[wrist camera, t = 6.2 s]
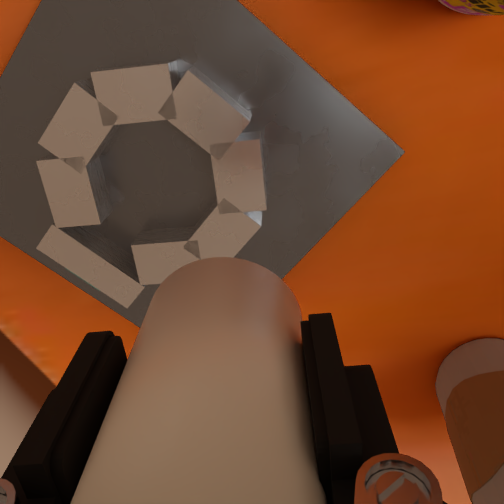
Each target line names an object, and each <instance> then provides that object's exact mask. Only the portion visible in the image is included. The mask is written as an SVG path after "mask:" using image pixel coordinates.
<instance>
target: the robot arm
mask: <svg viewBox="0 0 504 504" xmlns="http://www.w3.org/2000/svg"><path fill="white" fill-rule="evenodd" d="M300 323H301V336H302V347H303V355H304V363H305V371H306V379H307V387H308V395H309V403H310V411H311V419H312V427H313V435H314V443H315V451H316V459H317V467H318V475H319V481H320V483H321V484H322V487H323V489H324V492H325V495H326V500H327V504H447V503H445V502H444V501H442V492H441V489H440V485H439V482H438V480H437V478H436V477H435V475H434V474H433V473H432V471H431V470H430V469H429V468H428V467H426V466H425V465H424V464H423V463H422V462H420V461H418V460H416V459H414V458H412V457H410V456H407V455H402V454H399V452H398V448H397V445H396V442H395V439H394V436H393V433H392V430H391V426H390V423H389V420H388V417H387V414H386V411H385V408H384V405H383V401H382V398H381V395H380V392H379V389H378V386H377V383H376V380H375V376H374V373H373V370H372V368H371V366H370V365H357V366H344V365H343V361H342V356H341V352H340V348H339V344H338V340H337V335H336V331H335V327H334V323H333V319H332V315H331V313H322V314H310V315H309V321H300ZM126 363H127V357H126V353H125V349H124V346H123V342H122V339H121V337H120V336H114V334H113V332H112V331H102V332H90V333H87V334H86V336H85V337H84V339H83V341H82V343H81V344H80V346H79V348H78V350H77V352H76V353H75V355H74V357H73V359H72V360H71V362H70V364H69V366H68V367H67V369H66V371H65V373H64V375H63V376H62V378H61V380H60V382H59V383H58V385H57V387H56V388H55V389H54V390H52V391H51V393H50V394H49V395H48V397H47V399H46V401H45V402H44V404H43V406H42V408H41V409H40V411H39V413H38V415H37V416H36V418H35V420H34V422H33V424H32V425H31V427H30V428H29V430H28V432H27V434H26V435H25V438H24V439H23V441H22V442H21V444H20V446H19V448H18V449H17V451H16V453H15V455H14V457H13V458H12V460H11V462H10V463H9V465H8V467H7V469H6V470H5V472H4V474H3V476H2V477H1V478H0V504H70V503H71V501H72V498H73V496H74V493H75V491H76V488H77V486H78V483H79V481H80V478H81V476H82V473H83V471H84V468H85V466H86V463H87V461H88V458H89V456H90V453H91V451H92V448H93V446H94V443H95V441H96V438H97V436H98V433H99V431H100V428H101V426H102V423H103V420H104V418H105V415H106V413H107V410H108V408H109V405H110V403H111V400H112V398H113V395H114V393H115V390H116V388H117V385H118V383H119V380H120V378H121V375H122V373H123V370H124V368H125V365H126Z"/></svg>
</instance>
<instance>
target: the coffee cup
mask: <svg viewBox="0 0 504 504" xmlns="http://www.w3.org/2000/svg"><path fill="white" fill-rule="evenodd" d="M435 386H436V394H437V397H438V400H439V403H440V406H441V409H442V412H443V415H444V418H445V421H446V426H447V431H448V434H449V437H450V440H451V443H452V446H453V449H454V452H455V455H456V458H457V461H458V464H459V467H460V470H461V473H462V476H463V479H464V482H465V485H466V488H467V492H468V495H469V498H470V500H471V502H472V504H504V340H502V339H498V338H484V339H478V340H473V341H470V342H468V343H465V344H463V345H461V346H459V347H458V348H456V349H455V350H453V351H452V352H451V353H450V354H449V355H448V356H447V357H446V358H445V359H444V360H443V362H442V364H441V366H440V367H439V371H438V375H437V379H436V383H435Z"/></svg>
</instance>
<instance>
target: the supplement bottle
mask: <svg viewBox="0 0 504 504" xmlns="http://www.w3.org/2000/svg"><path fill="white" fill-rule="evenodd" d="M438 1H439V2H440V3H442V4H443V5H445V6H446V7H448V8H450V9H452V10H454V11H457V12H460V13H464V14H471V15H504V0H438Z"/></svg>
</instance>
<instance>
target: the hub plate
mask: <svg viewBox="0 0 504 504" xmlns="http://www.w3.org/2000/svg"><path fill="white" fill-rule="evenodd" d="M404 153H405V151H404V150H403V149H402V148H401V147H399V146H398V145H397V144H396V143H395V142H394V141H393V140H392V139H391V138H389V137H388V136H387V135H386V134H385V133H384V132H383V131H382V130H381V129H379V128H378V127H377V126H376V125H375V124H374V123H373V122H372V121H371V120H370V119H368V118H367V117H366V116H365V115H364V114H363V113H362V112H361V111H360V110H358V109H357V108H356V107H355V106H354V105H353V104H352V103H351V102H350V101H348V100H347V99H346V98H345V97H344V96H343V95H342V94H341V93H340V92H338V91H337V90H336V89H335V88H334V87H333V86H332V85H331V84H330V83H328V82H327V81H326V80H325V79H324V78H323V77H322V76H321V75H320V74H318V73H317V72H316V71H315V70H314V69H313V68H312V67H311V66H310V65H309V64H307V63H306V62H305V61H304V60H303V59H302V58H301V57H300V56H299V55H297V54H296V53H295V52H294V51H293V50H292V49H291V48H290V47H289V46H287V45H286V44H285V43H284V42H283V41H282V40H281V39H280V38H279V37H277V36H276V35H275V34H274V33H273V32H272V31H271V30H270V29H269V28H267V27H266V26H265V25H264V24H263V23H262V22H261V21H260V20H259V19H258V18H256V17H255V16H254V15H253V14H252V13H251V12H250V11H249V10H248V9H246V8H245V7H244V6H243V5H242V4H241V3H240V2H239V1H238V0H42V1H41V3H40V4H39V6H38V8H37V10H36V12H35V14H34V16H33V18H32V19H31V21H30V23H29V25H28V27H27V29H26V31H25V33H24V34H23V36H22V38H21V40H20V42H19V44H18V46H17V48H16V49H15V51H14V53H13V55H12V57H11V59H10V61H9V62H8V64H7V66H6V68H5V70H4V72H3V74H2V76H1V77H0V236H1V237H2V238H4V239H5V240H7V241H8V242H10V243H11V244H13V245H14V246H16V247H18V248H19V249H21V250H22V251H24V252H25V253H27V254H28V255H30V256H31V257H33V258H34V259H36V260H37V261H39V262H40V263H42V264H43V265H45V266H47V267H48V268H50V269H51V270H53V271H54V272H56V273H57V274H59V275H60V276H62V277H63V278H65V279H66V280H68V281H69V282H71V283H73V284H74V285H76V286H77V287H79V288H80V289H82V290H83V291H85V292H86V293H88V294H89V295H91V296H92V297H94V298H95V299H97V300H99V301H100V302H102V303H103V304H105V305H106V306H108V307H109V308H111V309H112V310H114V311H115V312H117V313H118V314H120V315H121V316H123V317H124V318H126V319H128V320H129V321H131V322H132V323H134V324H135V325H137V326H138V327H140V328H141V325H142V323H143V320H144V317H145V315H146V312H147V310H148V307H149V305H150V302H151V300H152V298H153V296H154V294H155V292H156V290H157V289H158V287H159V286H160V284H161V283H162V282H163V281H164V280H165V279H166V278H167V277H168V276H169V275H170V274H172V273H173V272H174V271H176V270H177V269H179V268H181V267H183V266H184V265H187V264H189V263H192V262H194V261H198V260H201V259H206V258H213V257H231V258H238V259H243V260H247V261H250V262H253V263H256V264H259V265H261V266H263V267H265V268H267V269H268V270H270V271H271V272H273V273H275V274H276V275H277V276H278V277H279V278H281V279H282V278H283V277H284V276H285V275H286V274H287V273H288V272H289V271H290V270H291V269H292V268H293V267H294V266H295V265H296V264H297V263H298V262H299V261H300V260H301V259H302V258H303V257H304V256H305V255H306V254H307V253H308V252H309V251H310V249H311V248H312V247H313V246H314V245H315V244H316V243H317V242H318V241H319V240H320V239H321V238H322V237H323V236H324V235H325V234H326V233H327V232H328V231H329V230H330V229H331V228H332V227H333V226H334V225H335V224H336V223H337V222H338V221H339V220H340V219H341V218H342V216H343V215H344V214H345V213H346V212H347V211H348V210H349V209H350V208H351V207H352V206H353V205H354V204H355V203H356V202H357V201H358V200H359V199H360V198H361V197H362V196H363V195H364V194H365V193H366V192H367V191H368V190H369V189H370V188H371V187H372V186H373V185H374V183H375V182H376V181H377V180H378V179H379V178H380V177H381V176H382V175H383V174H384V173H385V172H386V171H387V170H388V169H389V168H390V167H391V166H392V165H393V164H394V163H395V162H396V161H397V160H398V159H399V158H400V157H401V156H402V155H403V154H404Z"/></svg>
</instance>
